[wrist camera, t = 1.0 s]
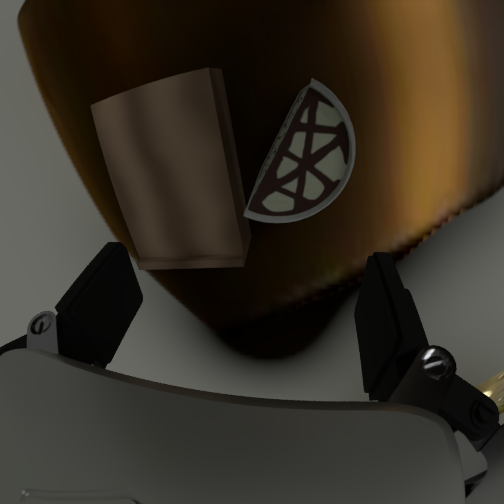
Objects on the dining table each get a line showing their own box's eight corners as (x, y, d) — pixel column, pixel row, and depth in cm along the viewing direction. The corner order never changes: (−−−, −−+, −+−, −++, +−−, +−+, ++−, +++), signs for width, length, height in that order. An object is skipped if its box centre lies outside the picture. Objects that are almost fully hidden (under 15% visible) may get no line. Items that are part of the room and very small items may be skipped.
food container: (305, 202, 32) (308, 252, 23) (255, 178, 31) (240, 221, 23) (360, 108, 25) (391, 123, 16) (306, 78, 24) (314, 77, 16)
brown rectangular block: (222, 68, 24) (204, 67, 19) (251, 236, 35) (243, 266, 30) (115, 98, 27) (84, 107, 22) (157, 242, 38) (139, 269, 33)
